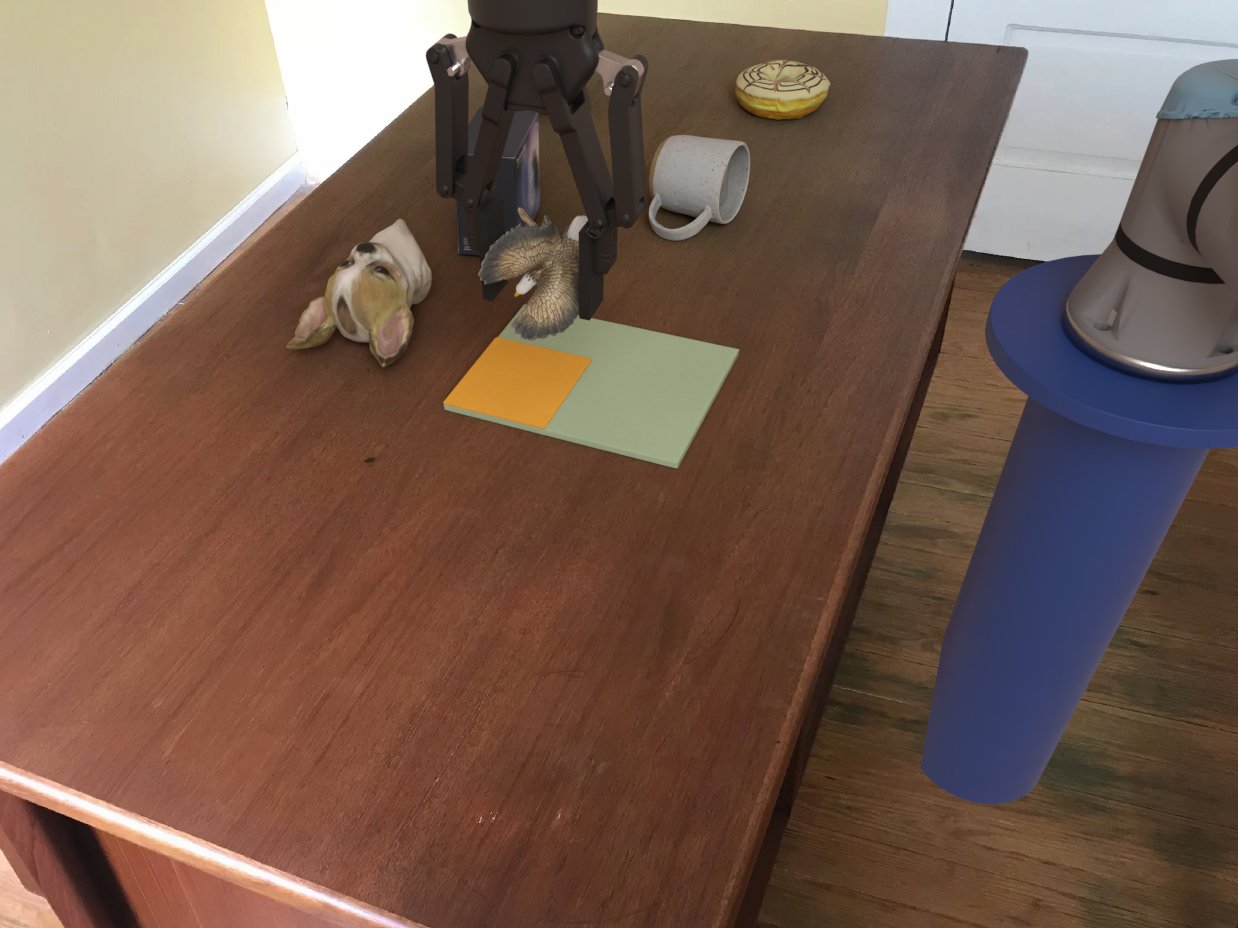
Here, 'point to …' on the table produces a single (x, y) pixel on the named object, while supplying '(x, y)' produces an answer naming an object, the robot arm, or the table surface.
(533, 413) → the corner mat
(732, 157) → the ceramic mug
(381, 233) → the ceramic sculpture
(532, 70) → the robot arm
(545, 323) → the eagle figurine
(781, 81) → the decorated donut
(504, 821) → the table surface
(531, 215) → the small box
